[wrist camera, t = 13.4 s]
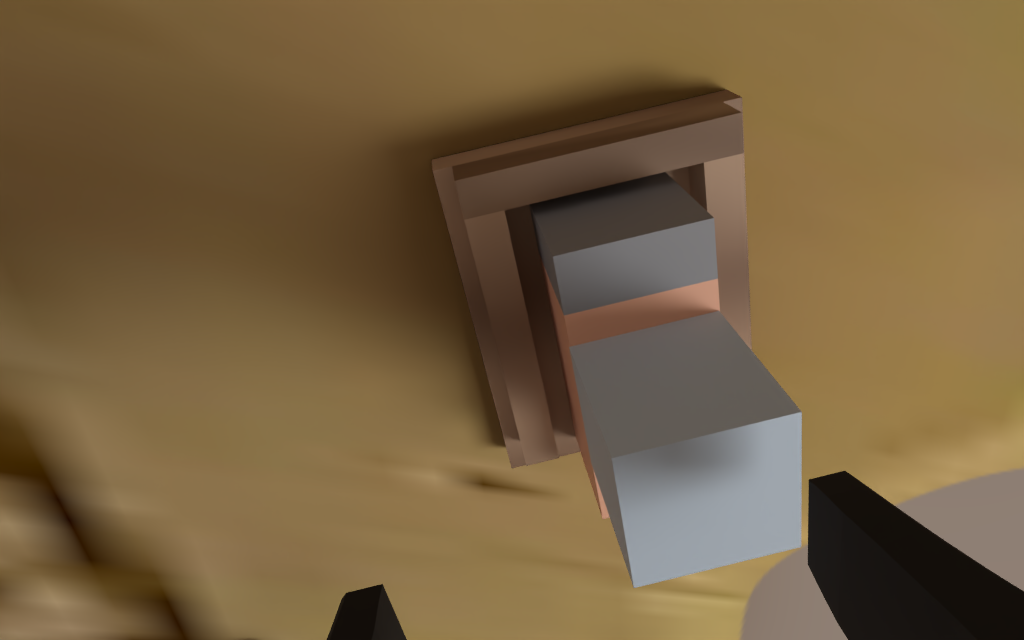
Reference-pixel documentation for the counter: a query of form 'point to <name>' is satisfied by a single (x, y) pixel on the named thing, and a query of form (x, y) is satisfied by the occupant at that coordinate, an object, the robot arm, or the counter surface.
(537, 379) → the jig
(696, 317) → the pale blue-grey cube
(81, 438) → the counter surface
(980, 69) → the counter surface
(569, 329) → the two-tone peach block
